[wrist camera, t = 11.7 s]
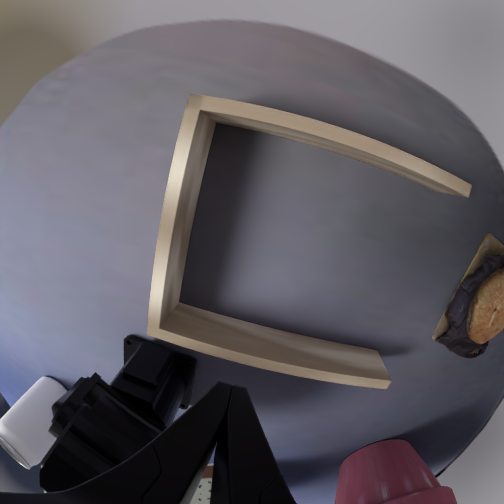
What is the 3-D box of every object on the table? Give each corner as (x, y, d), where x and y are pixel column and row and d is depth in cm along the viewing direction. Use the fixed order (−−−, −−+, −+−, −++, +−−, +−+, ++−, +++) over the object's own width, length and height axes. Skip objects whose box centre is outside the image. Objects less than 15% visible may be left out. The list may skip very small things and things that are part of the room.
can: (77, 392, 26) (25, 457, 14) (80, 420, 27) (38, 478, 16) (38, 365, 25) (-17, 419, 14) (44, 395, 27) (-1, 446, 16)
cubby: (373, 357, 20) (386, 389, 17) (167, 308, 21) (146, 334, 17) (440, 181, 16) (471, 185, 13) (207, 109, 17) (189, 93, 13)
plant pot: (418, 468, 25) (438, 535, 13) (322, 492, 27) (325, 565, 15) (439, 408, 22) (481, 494, 9) (315, 441, 24) (321, 547, 11)
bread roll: (480, 225, 17) (508, 234, 14) (522, 266, 18) (545, 278, 14) (420, 334, 20) (437, 358, 17) (469, 358, 20) (486, 378, 17)
